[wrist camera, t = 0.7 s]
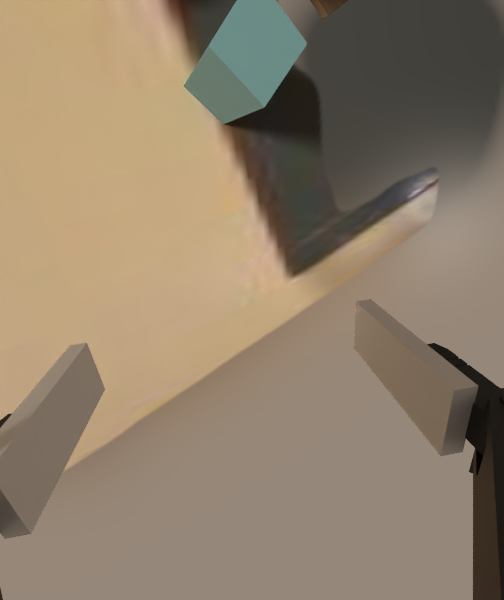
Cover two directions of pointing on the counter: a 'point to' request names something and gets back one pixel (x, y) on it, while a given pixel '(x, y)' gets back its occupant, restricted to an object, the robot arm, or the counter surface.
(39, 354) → the counter surface
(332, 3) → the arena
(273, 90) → the teal block
